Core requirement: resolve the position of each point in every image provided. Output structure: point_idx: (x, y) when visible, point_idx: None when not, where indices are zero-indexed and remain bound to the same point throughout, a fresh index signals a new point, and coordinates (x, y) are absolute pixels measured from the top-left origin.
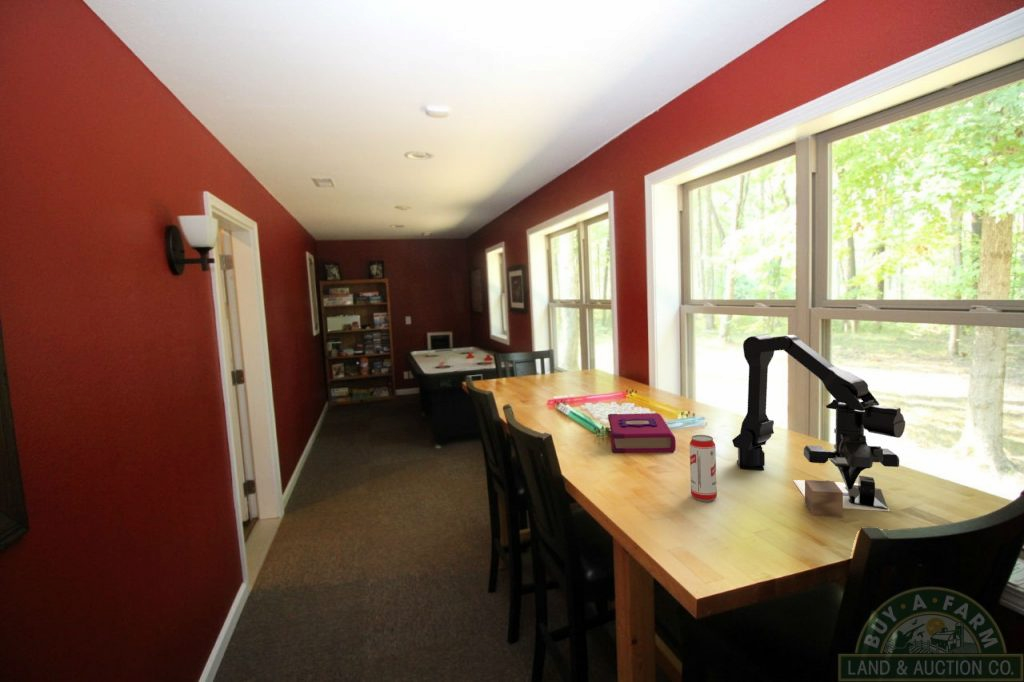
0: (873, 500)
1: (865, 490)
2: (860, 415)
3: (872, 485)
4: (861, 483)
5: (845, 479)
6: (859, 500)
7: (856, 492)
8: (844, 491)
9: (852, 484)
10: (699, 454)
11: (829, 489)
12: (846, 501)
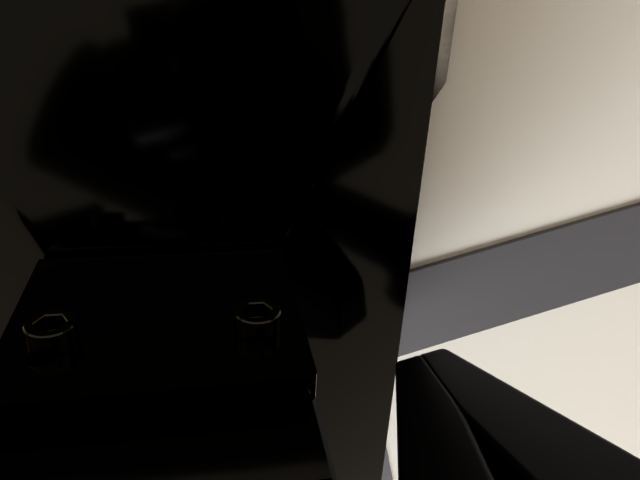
0: (60, 121)
1: (197, 305)
2: None
3: (33, 438)
4: (293, 419)
5: (614, 445)
6: (304, 28)
7: (312, 345)
8: None
9: (421, 416)
10: None
11: None
12: (478, 24)
